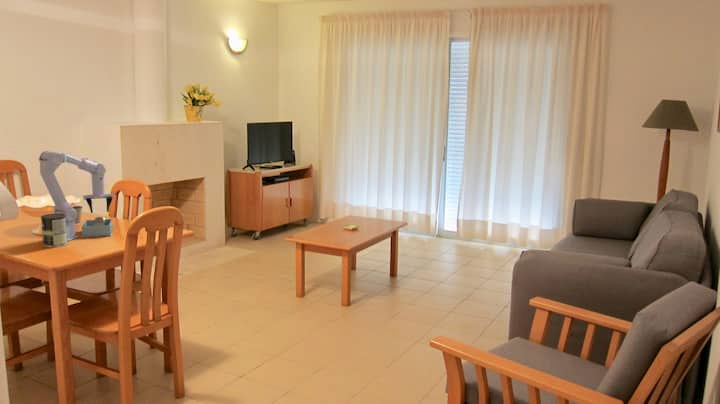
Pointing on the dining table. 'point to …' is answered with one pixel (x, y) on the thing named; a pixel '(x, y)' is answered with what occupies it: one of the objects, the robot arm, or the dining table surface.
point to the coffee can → (54, 230)
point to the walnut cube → (99, 224)
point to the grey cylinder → (100, 220)
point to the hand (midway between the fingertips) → (99, 212)
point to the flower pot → (78, 213)
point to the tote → (97, 229)
